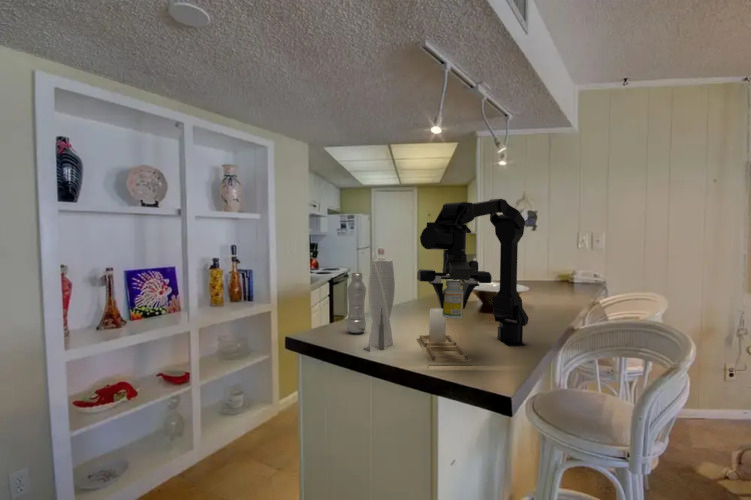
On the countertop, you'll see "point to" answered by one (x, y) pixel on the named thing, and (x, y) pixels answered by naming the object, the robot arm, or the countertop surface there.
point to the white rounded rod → (437, 325)
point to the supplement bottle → (453, 300)
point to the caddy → (442, 350)
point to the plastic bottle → (356, 304)
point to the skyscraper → (381, 302)
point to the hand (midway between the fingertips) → (452, 308)
